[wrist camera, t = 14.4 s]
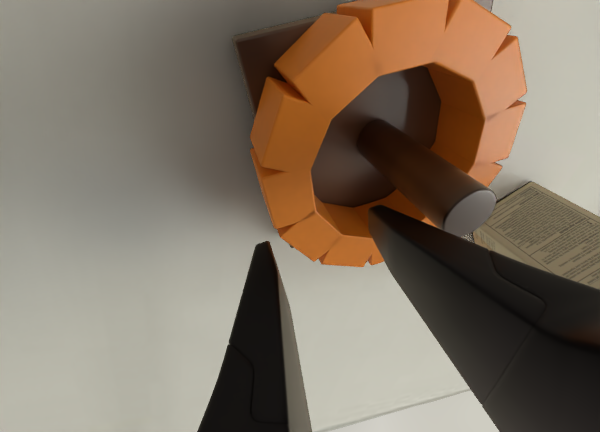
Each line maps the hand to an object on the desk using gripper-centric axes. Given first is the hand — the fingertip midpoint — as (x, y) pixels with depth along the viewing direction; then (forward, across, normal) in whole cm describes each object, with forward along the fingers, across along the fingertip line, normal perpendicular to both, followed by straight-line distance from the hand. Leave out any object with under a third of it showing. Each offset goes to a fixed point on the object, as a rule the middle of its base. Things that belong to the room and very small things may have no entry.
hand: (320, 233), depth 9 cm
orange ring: (+5, -4, 0) cm, 6 cm away
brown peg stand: (+6, -4, 0) cm, 7 cm away
